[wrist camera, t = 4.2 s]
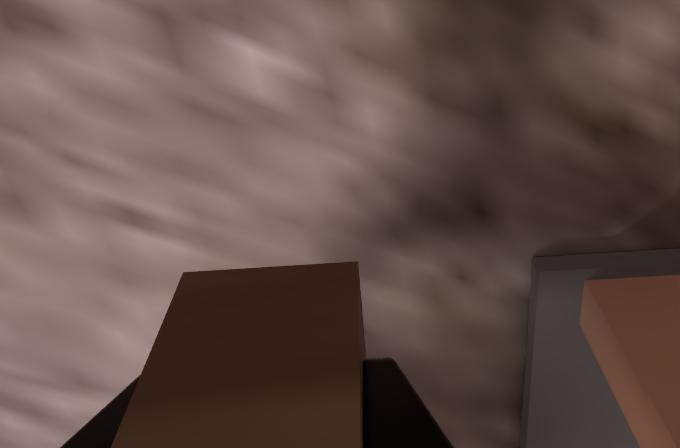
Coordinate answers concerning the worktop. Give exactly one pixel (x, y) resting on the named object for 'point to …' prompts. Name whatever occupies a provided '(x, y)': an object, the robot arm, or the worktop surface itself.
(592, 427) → the slate mat
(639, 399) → the glazed tile
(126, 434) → the walnut turner
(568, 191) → the worktop surface
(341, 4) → the worktop surface
